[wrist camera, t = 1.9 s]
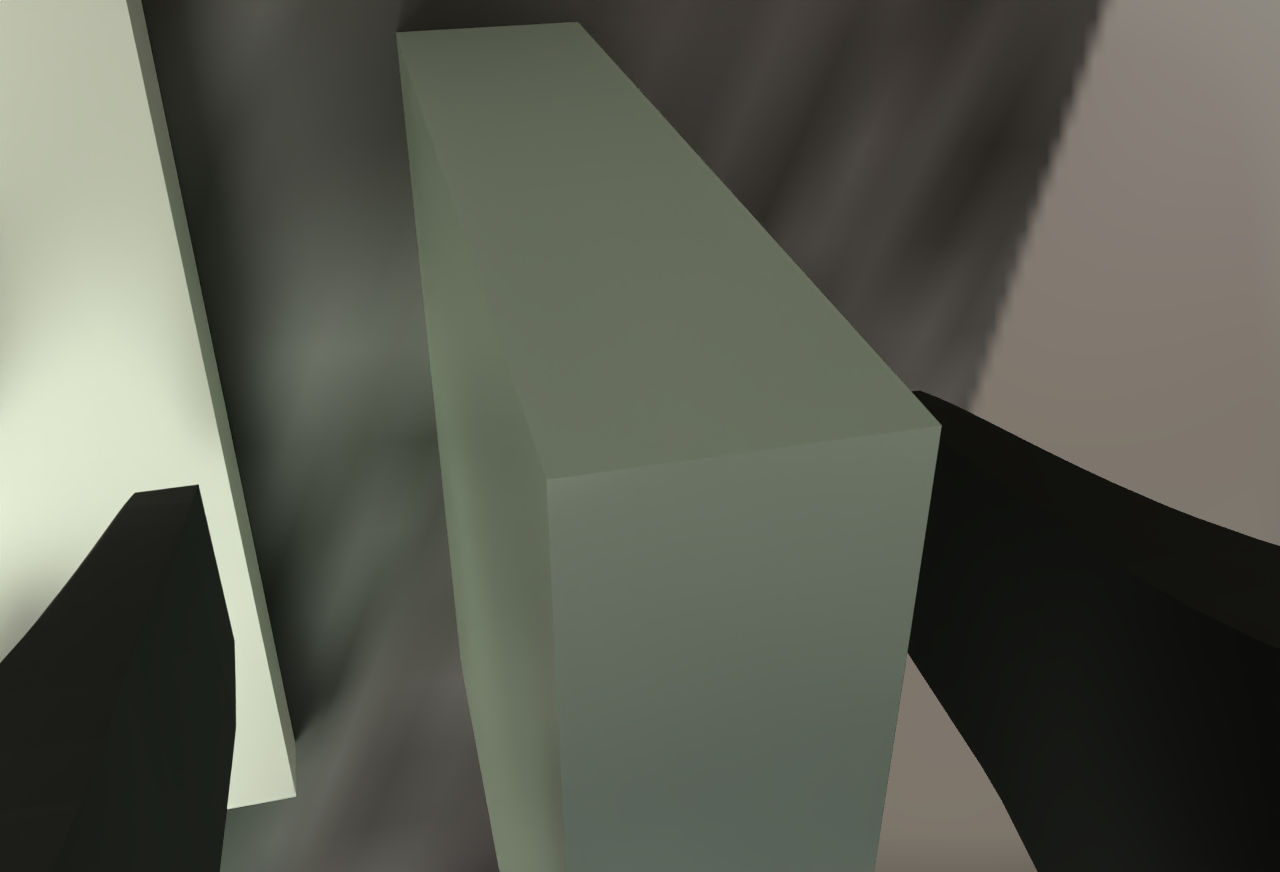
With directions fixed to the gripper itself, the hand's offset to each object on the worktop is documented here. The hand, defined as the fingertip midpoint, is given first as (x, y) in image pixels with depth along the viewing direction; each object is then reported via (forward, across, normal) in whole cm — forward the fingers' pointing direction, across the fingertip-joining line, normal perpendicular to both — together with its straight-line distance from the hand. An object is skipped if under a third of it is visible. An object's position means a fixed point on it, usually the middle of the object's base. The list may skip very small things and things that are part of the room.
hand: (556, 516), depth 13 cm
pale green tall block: (+3, 0, 0) cm, 3 cm away
